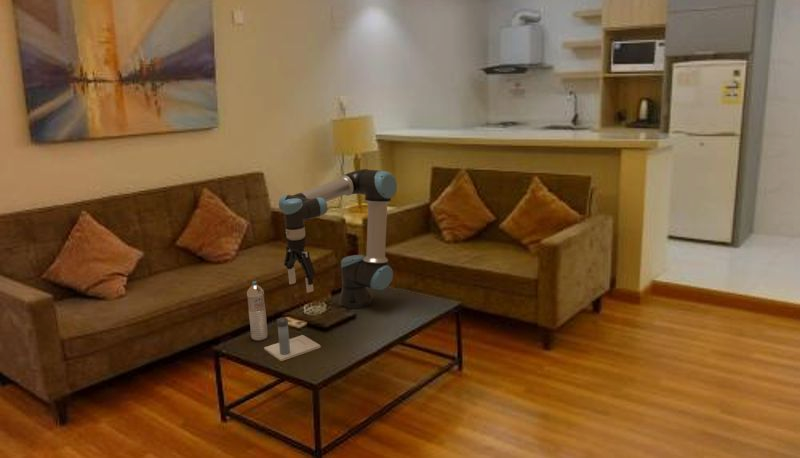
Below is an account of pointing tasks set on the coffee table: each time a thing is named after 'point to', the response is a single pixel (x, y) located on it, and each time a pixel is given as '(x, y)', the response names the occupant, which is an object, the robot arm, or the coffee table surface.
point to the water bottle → (257, 312)
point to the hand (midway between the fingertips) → (301, 287)
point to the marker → (283, 336)
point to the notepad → (293, 347)
